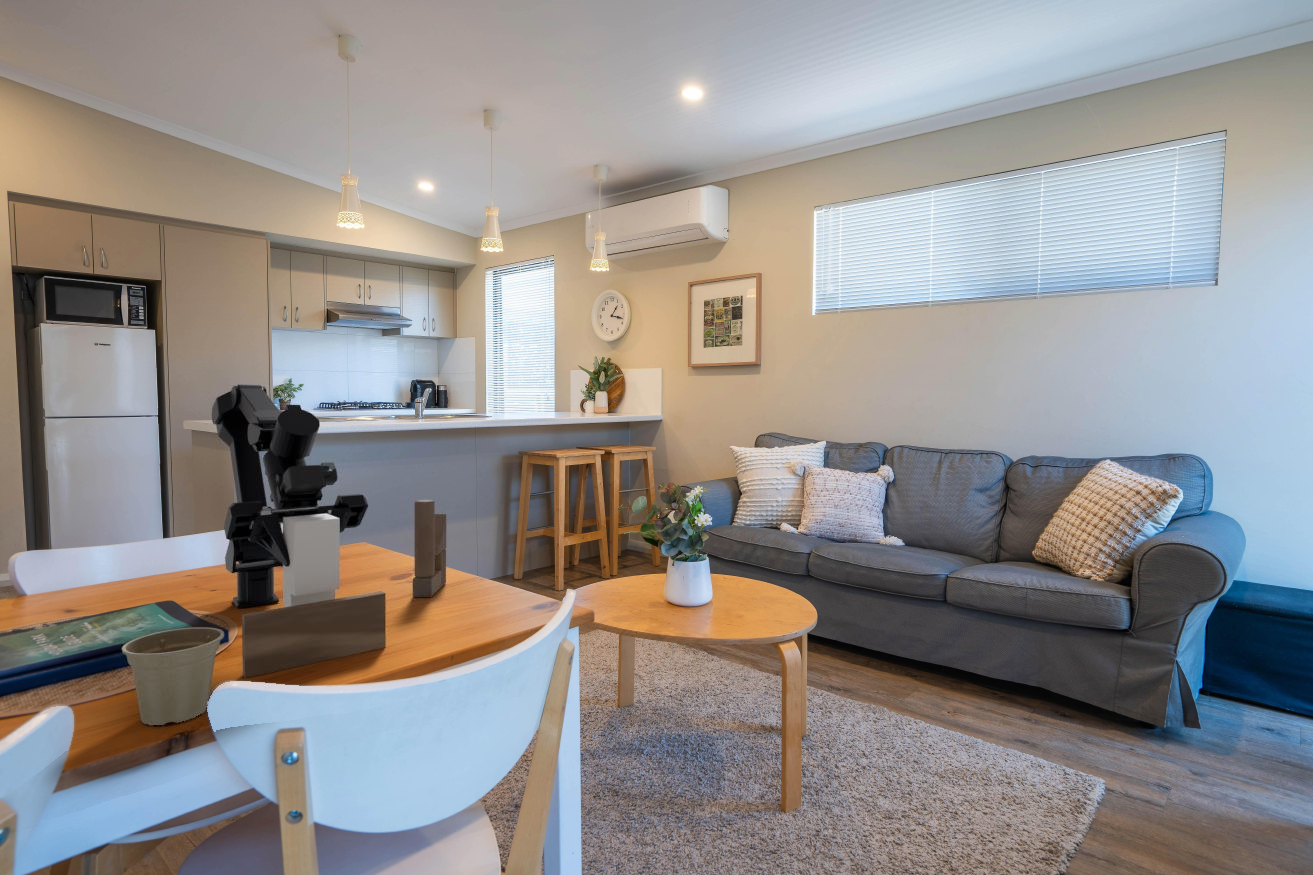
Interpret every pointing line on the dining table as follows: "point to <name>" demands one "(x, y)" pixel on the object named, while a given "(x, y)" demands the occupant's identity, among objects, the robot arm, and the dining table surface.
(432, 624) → the dining table surface
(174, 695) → the flower pot
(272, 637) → the wall board
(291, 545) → the white notched pillar
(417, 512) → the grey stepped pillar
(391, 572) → the dining table surface
